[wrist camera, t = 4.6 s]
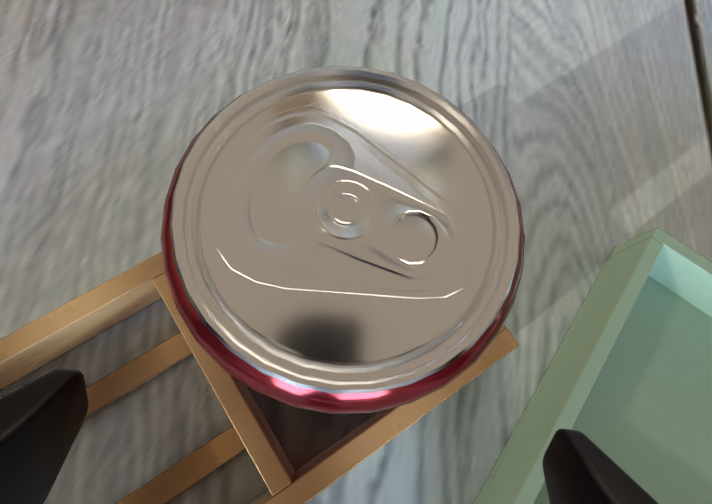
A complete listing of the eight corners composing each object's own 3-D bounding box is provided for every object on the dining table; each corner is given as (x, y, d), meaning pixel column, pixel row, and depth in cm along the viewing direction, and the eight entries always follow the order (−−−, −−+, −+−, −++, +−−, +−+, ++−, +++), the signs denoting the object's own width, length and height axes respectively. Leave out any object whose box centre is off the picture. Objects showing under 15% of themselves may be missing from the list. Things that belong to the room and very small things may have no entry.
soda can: (213, 351, 19) (61, 289, 8) (297, 210, 21) (276, -2, 10) (367, 433, 19) (451, 499, 7) (437, 280, 21) (586, 145, 9)
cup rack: (38, 685, 15) (-13, 739, 13) (-74, 409, 17) (-136, 412, 15) (495, 350, 20) (520, 344, 18) (363, 165, 22) (369, 138, 20)
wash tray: (773, 829, 16) (873, 925, 13) (437, 567, 17) (462, 602, 15) (884, 427, 21) (976, 432, 18) (613, 247, 22) (657, 226, 19)
